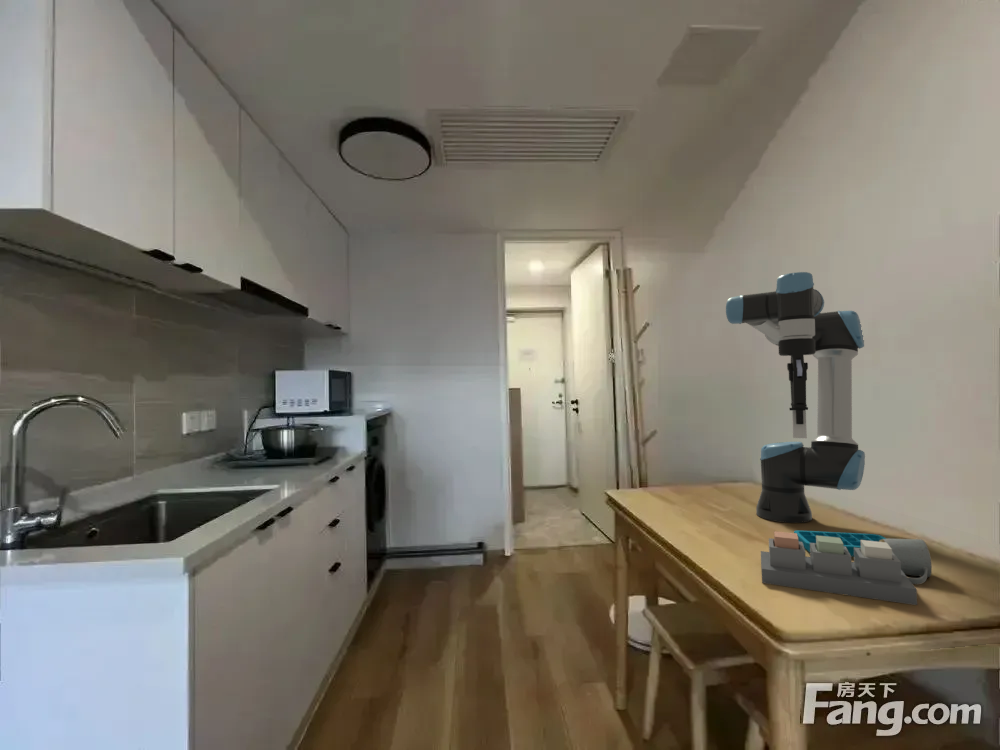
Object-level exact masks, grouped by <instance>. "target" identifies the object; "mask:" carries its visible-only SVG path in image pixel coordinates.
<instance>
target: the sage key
mask: <svg viewBox="0 0 1000 750" xmlns="http://www.w3.org/2000/svg"><path fill="white" fill-rule="evenodd" d="M816 550H817V551H818V552H827V553H836V554H844V545H843V542H842V540H841V539H840V538H837V537H827V536H817V535H816Z"/></svg>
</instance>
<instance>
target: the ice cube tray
mask: <svg viewBox="0 0 1000 750" xmlns="http://www.w3.org/2000/svg"><path fill="white" fill-rule="evenodd" d="M793 533H797V536H798V541H799V542H803V545H804V549H805V551H806V550H807V552H808V553H809V554H810V543H816V535H817V536H827V537H837V538H840V539H841V540H842V542H843V545H844V546H846V548H847V550H848V552H849V553H850V555H851V557H853V558H854V547H855V548H861V540H867V541H877V542H879V541H880V540H881V539H887V538H886V537H884V536H883V535H881V534H876V533H862V532H861V533H858V532H842V531H841V532H840V531H837V532H836V531H819V530H817V531H815V530H793Z"/></svg>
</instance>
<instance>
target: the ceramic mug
mask: <svg viewBox="0 0 1000 750" xmlns="http://www.w3.org/2000/svg"><path fill="white" fill-rule="evenodd" d="M879 542H886V543H887V544H888V545H889V546H890V547H891V549H892V552H893V553H894V554H895V556H896V557H897V558H898V559H899V561H900V562H901V570H902V571H903V573H904V574H905V575H906V576H907V575H908V576H915V577H908V576H907V578H908V579H909V580H910V582H911V583H912V584H913V585H921V584H924V583H925V582H926V581H927V578H930V577H931V575H932V570H933V569H932V568H933V566H932V564H933V563H932V559H931V554H930V550H929V547H928V545H927V543H926V542H925V540H924V539H921V538H917V539H916V538H915V539H911V538H886V539H881V540H880V541H879Z"/></svg>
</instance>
